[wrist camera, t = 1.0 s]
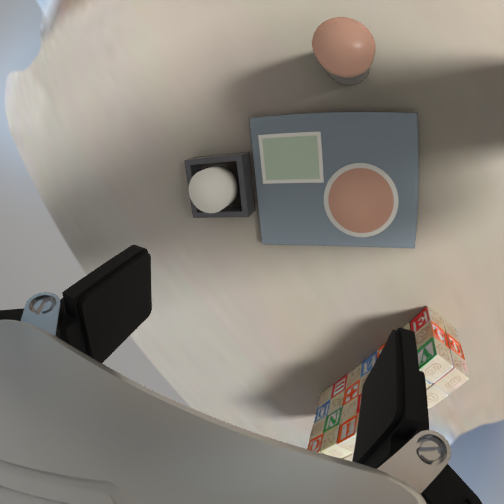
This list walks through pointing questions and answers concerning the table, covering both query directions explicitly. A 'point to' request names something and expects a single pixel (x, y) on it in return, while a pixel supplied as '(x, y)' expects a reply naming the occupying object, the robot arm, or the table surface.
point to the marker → (344, 49)
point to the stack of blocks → (350, 386)
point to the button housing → (244, 184)
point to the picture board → (337, 178)
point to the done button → (213, 189)
